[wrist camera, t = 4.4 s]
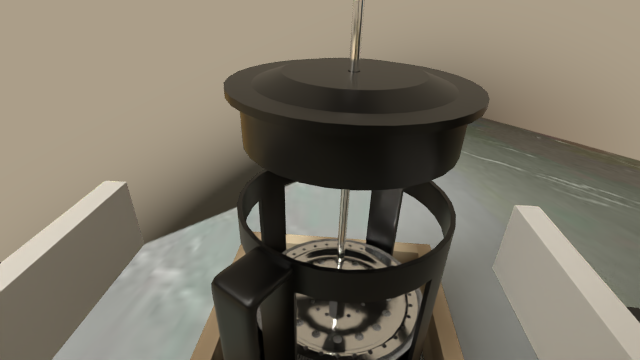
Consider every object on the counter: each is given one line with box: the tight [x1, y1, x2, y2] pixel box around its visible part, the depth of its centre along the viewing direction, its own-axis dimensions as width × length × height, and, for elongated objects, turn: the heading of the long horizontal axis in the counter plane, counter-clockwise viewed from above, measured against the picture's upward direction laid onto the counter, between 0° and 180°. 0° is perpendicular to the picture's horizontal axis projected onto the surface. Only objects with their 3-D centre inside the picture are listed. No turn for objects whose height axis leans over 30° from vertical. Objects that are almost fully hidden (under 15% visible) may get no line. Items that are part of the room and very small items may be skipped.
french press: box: [212, 0, 489, 360], centre depth 15 cm, size 12×9×23 cm
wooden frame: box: [190, 232, 464, 360], centre depth 19 cm, size 14×17×4 cm
